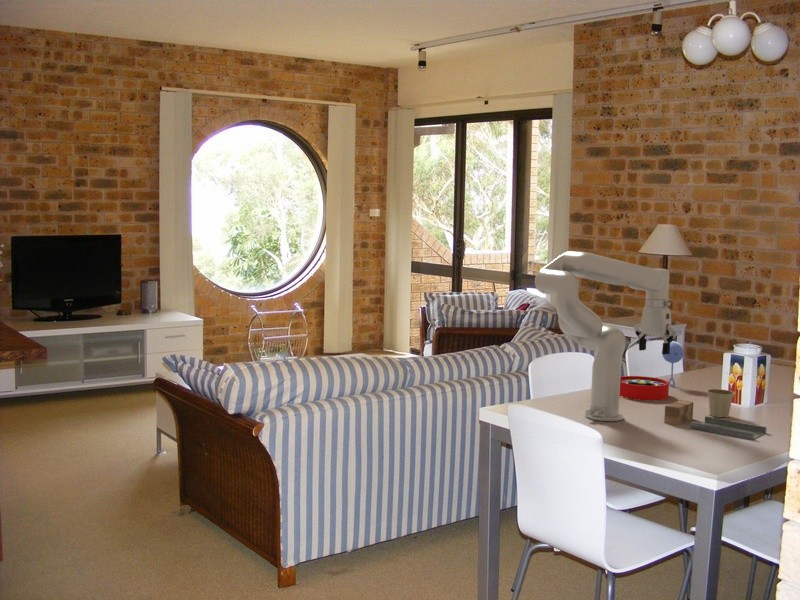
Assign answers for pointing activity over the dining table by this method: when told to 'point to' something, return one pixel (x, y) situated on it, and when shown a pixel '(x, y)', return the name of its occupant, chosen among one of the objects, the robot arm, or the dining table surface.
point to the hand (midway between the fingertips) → (653, 352)
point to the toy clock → (644, 388)
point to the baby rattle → (673, 357)
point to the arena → (730, 428)
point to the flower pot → (720, 402)
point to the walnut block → (678, 412)
